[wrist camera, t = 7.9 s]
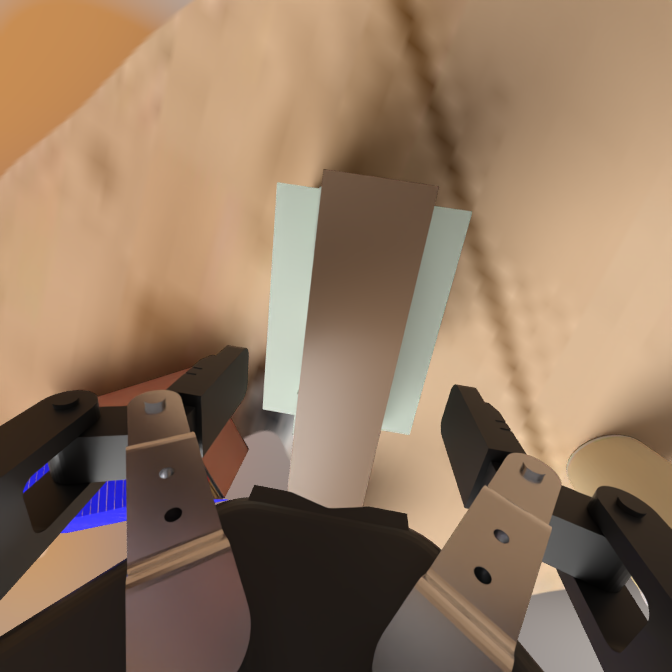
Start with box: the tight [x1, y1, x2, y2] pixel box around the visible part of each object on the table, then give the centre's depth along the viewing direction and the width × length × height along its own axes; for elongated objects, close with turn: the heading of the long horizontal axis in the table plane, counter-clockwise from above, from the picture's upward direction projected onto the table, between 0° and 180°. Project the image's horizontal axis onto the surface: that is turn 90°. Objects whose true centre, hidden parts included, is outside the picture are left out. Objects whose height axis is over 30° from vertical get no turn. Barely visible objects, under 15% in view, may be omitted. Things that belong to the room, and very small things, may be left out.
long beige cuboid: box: [287, 169, 439, 508], centre depth 14 cm, size 4×14×5 cm, turn 172°
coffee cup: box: [566, 435, 672, 606], centre depth 27 cm, size 9×9×12 cm
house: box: [23, 367, 249, 533], centre depth 31 cm, size 12×20×12 cm, turn 110°
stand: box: [263, 182, 472, 435], centre depth 22 cm, size 10×14×12 cm
